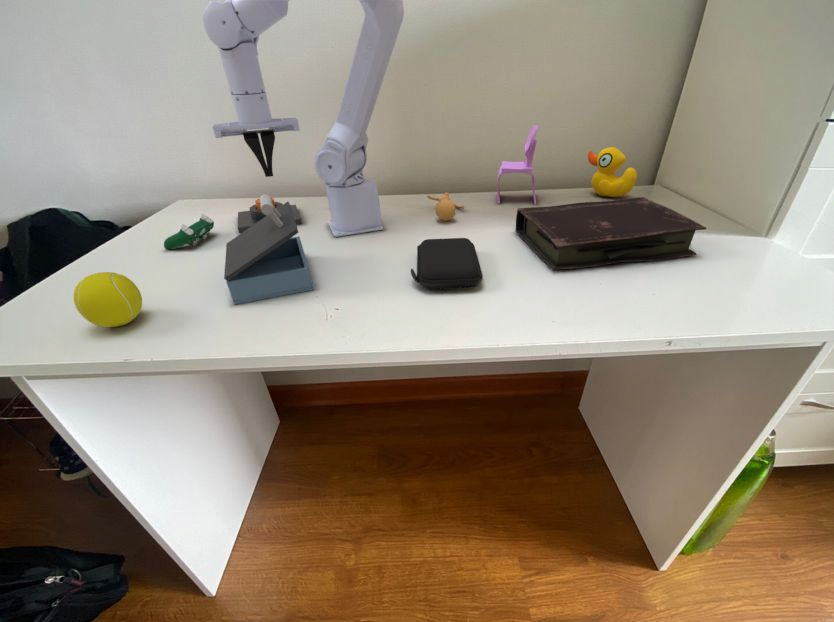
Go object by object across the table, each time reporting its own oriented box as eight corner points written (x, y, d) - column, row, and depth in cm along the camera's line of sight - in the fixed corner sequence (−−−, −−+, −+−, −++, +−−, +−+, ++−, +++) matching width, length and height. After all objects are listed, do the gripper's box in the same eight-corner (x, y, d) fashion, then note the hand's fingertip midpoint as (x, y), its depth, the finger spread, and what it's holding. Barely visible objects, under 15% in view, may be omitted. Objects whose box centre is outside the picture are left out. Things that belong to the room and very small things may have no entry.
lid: (290, 204, 67) (271, 180, 64) (298, 232, 57) (277, 205, 54) (229, 246, 68) (207, 224, 65) (227, 281, 58) (201, 257, 55)
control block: (296, 209, 93) (293, 196, 91) (301, 224, 85) (298, 209, 83) (239, 217, 89) (235, 203, 88) (239, 233, 82) (234, 218, 80)
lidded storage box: (303, 256, 73) (299, 236, 71) (313, 290, 63) (308, 268, 61) (235, 267, 70) (228, 246, 68) (234, 304, 60) (226, 282, 58)
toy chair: (496, 193, 98) (501, 122, 89) (534, 194, 97) (543, 122, 88) (495, 205, 92) (500, 129, 83) (536, 206, 91) (545, 129, 82)
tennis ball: (86, 342, 53) (54, 293, 49) (97, 315, 58) (69, 269, 54) (148, 328, 55) (123, 281, 51) (153, 304, 60) (131, 259, 56)
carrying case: (411, 253, 73) (410, 295, 61) (410, 236, 71) (409, 276, 59) (473, 250, 73) (483, 292, 61) (473, 234, 71) (484, 273, 59)
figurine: (427, 200, 80) (433, 171, 88) (419, 226, 85) (425, 196, 92) (468, 213, 81) (470, 183, 89) (458, 238, 86) (461, 207, 94)
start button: (275, 204, 87) (273, 196, 86) (276, 209, 85) (274, 201, 84) (257, 207, 86) (254, 198, 85) (257, 212, 84) (255, 203, 83)
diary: (513, 231, 79) (516, 205, 76) (634, 219, 83) (641, 193, 80) (554, 275, 65) (559, 244, 62) (699, 258, 68) (710, 228, 65)
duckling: (576, 194, 97) (584, 147, 91) (585, 188, 100) (594, 142, 94) (626, 203, 91) (638, 153, 85) (634, 196, 94) (647, 148, 88)
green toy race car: (178, 260, 77) (190, 240, 73) (159, 245, 75) (171, 224, 72) (209, 241, 84) (221, 221, 80) (193, 227, 83) (204, 207, 79)
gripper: (289, 88, 77) (305, 166, 86) (204, 93, 74) (229, 174, 82) (292, 91, 72) (309, 174, 80) (201, 97, 68) (228, 184, 76)
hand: (269, 175), depth 81 cm, fingers closed
